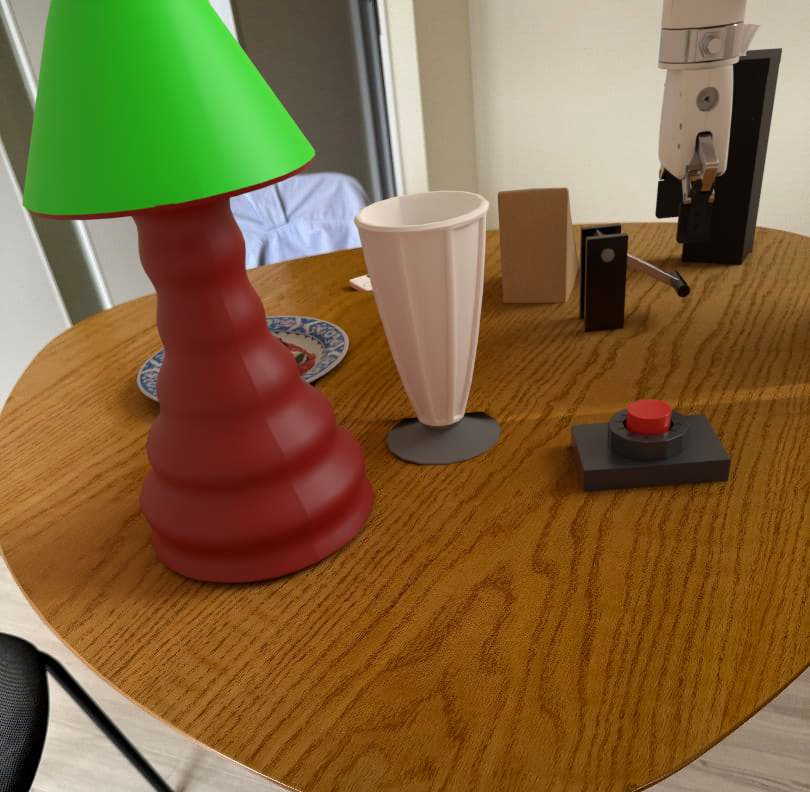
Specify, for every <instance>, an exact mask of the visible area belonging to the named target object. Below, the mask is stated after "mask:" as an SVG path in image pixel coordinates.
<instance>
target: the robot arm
mask: <svg viewBox="0 0 810 792" xmlns="http://www.w3.org/2000/svg"><path fill="white" fill-rule="evenodd" d="M747 1H748V0H663V1H662V2H663V3H662V11H661V24H660V38H659V52H658V61H657V68H658V69H660V70H666V74H665V81H664V84H663V86H664V89H663V95H662V102H661V113H660V122H659V134H658V136H659V137H658V161H659V163H660V167H659V170H658V180H657V189H656V202H655V211H654V212H655V217H656V218H657V219H658V220H660V219H670V218H677V224H676V225H677V226H676V235H675V241H676V243H678V244H680V245H681V244H682V245H683V243H694V242H705V241H707V240H708V237H709V229H710V222H711V214H712V206H713V201H714V188H715V187H716V183H715V182H716V181H715V177H716V176H721V175H722V174H723V173H724V172H725V171H726V167H727V158H728V147H729V137H730V126H731V114H732V99H733V65H732V64H735V63H737V62H738V61H739V54H740V47H741V39H742V32H743V24H745V16H746V9H747ZM698 169H700V170H698ZM691 181H695V183H694V185H693V187H692V190H691Z"/></svg>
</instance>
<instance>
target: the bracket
mask: <svg viewBox="0 0 810 792" xmlns="http://www.w3.org/2000/svg"><path fill="white" fill-rule="evenodd" d="M596 230H599V231H601V232H603V233H605V234H607V235H602V236H593V235H594V234H595V232H596ZM579 234H580V235H579V236H580V238H579V239H580V240H579V244H580V245H579V294H578V295H579V297H578V298H579V299H578V300H579V301H578V318H579V320H583V331H584V333H592V332H601V331H603V332H604V331H613V330H623V329H625V328H624V327H625V311H626V310H625V307H626V288H627V273H628V265H627V254H629V253H628V251H629V234H628V232H622V224H621V223H620V222H616V223H607V224H597V225H589V226H580V233H579Z"/></svg>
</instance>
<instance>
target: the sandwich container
mask: <svg viewBox="0 0 810 792" xmlns="http://www.w3.org/2000/svg"><path fill="white" fill-rule="evenodd" d="M570 201H571V200H570V191H569V188H568V187H536V188H523V189H512V190H502V191H501V190H500V191H498V193H497V215H498V229H499V249H500V267H501V285H502V287H501V288H502V302H503V304H529V303H530V304H531V303H532V304H535V303H536V304H537V303H538V304H539V303H540V304H541V303H542V304H543V303H544V304H545V303H546V304H547V303H549V304H551V303H556V304H557V303H567V302H568V300H569V298H570V296H571V294H572V292H573V289H574V285H575V282H576V278H577V275H578V273H579V272H578V271H579V270H580V263H579V260H578V253H577V246H576V240H575V239H576V238H575V233H574V226H573V220H572V213H571V212H572V211H571V202H570Z"/></svg>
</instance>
